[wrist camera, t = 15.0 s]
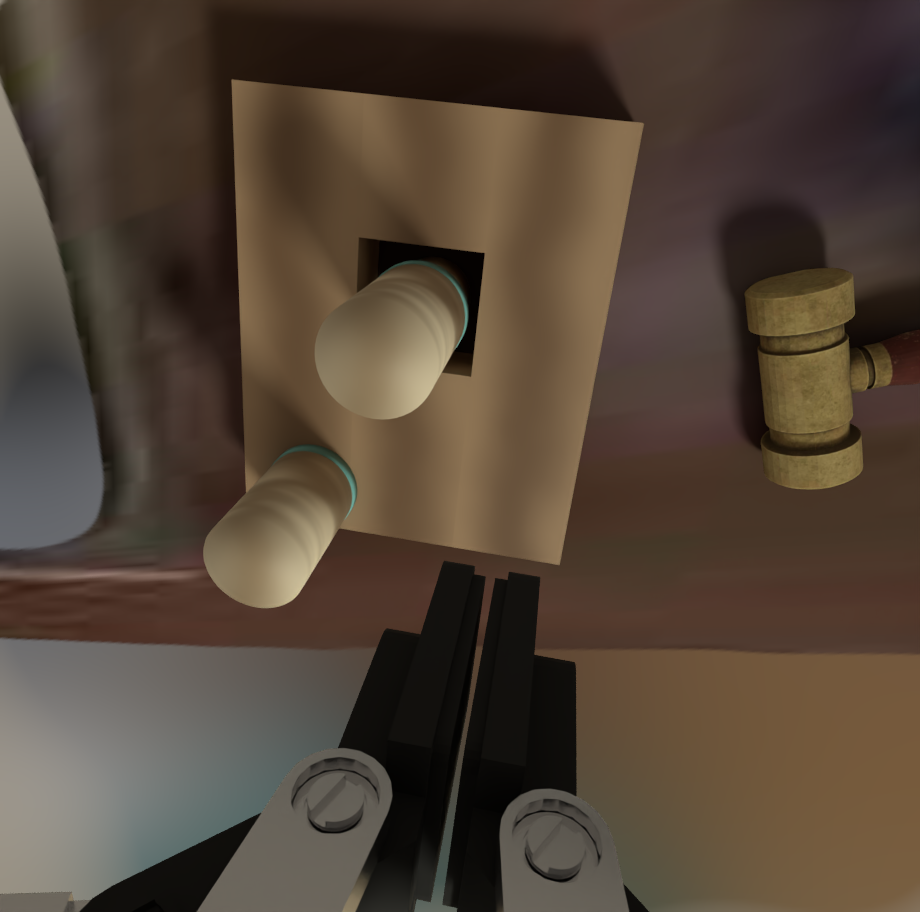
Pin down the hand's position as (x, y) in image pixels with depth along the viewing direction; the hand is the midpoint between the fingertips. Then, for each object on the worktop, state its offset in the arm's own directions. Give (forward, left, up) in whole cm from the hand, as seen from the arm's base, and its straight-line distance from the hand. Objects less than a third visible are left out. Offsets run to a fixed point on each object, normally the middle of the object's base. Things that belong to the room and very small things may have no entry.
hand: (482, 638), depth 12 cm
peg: (+6, 0, -27) cm, 28 cm away
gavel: (-21, -1, -28) cm, 35 cm away
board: (+6, +2, -27) cm, 28 cm away
